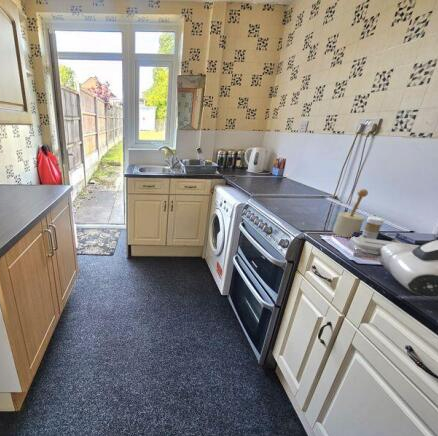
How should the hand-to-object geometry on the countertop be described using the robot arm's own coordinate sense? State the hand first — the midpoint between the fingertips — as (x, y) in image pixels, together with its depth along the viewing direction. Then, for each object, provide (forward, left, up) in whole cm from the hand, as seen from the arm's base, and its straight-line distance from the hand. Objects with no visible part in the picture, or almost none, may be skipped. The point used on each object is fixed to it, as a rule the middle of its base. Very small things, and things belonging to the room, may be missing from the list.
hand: (377, 239), depth 89 cm
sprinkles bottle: (0, -6, -7) cm, 9 cm away
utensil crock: (+2, -21, -7) cm, 22 cm away
